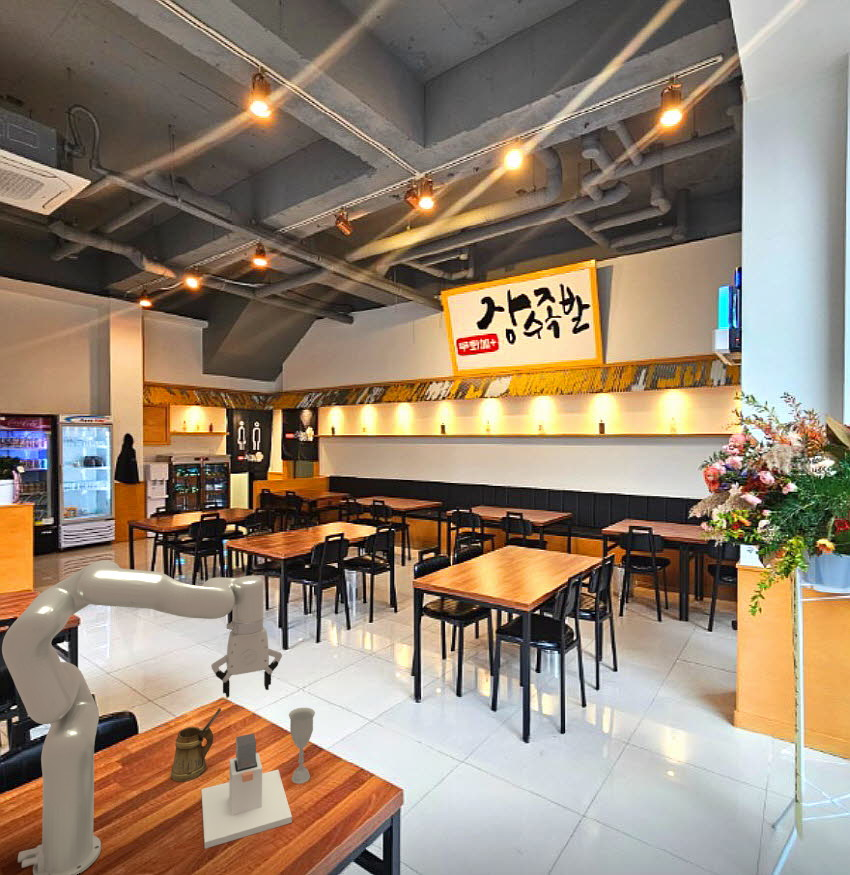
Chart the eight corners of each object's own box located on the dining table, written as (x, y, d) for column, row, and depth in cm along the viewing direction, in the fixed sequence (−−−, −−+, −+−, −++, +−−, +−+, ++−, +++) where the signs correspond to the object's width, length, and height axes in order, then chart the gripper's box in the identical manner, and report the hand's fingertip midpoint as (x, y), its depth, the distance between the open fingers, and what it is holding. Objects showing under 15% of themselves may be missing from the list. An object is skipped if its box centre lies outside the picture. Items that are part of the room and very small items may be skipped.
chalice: (317, 770, 148) (318, 708, 148) (309, 786, 142) (310, 721, 142) (292, 768, 149) (293, 706, 149) (283, 784, 142) (284, 719, 142)
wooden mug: (214, 781, 143) (215, 716, 143) (165, 782, 143) (166, 717, 143) (225, 761, 152) (226, 700, 152) (179, 761, 152) (180, 700, 152)
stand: (204, 848, 120) (205, 799, 120) (201, 794, 138) (202, 751, 138) (291, 822, 128) (292, 776, 128) (278, 774, 146) (278, 734, 146)
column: (236, 809, 130) (237, 746, 130) (235, 798, 134) (236, 737, 134) (255, 804, 132) (256, 742, 132) (253, 793, 136) (254, 733, 136)
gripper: (212, 635, 126) (211, 705, 126) (284, 625, 134) (283, 691, 134) (211, 625, 133) (210, 691, 133) (279, 616, 140) (278, 679, 140)
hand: (247, 691), depth 133 cm, fingers open, 9 cm apart
